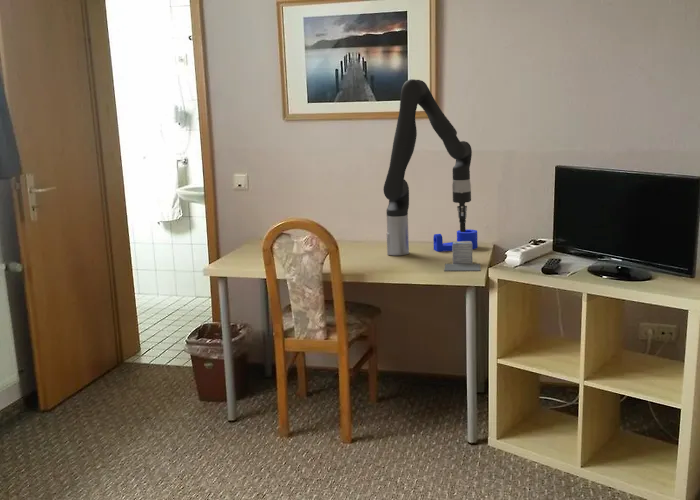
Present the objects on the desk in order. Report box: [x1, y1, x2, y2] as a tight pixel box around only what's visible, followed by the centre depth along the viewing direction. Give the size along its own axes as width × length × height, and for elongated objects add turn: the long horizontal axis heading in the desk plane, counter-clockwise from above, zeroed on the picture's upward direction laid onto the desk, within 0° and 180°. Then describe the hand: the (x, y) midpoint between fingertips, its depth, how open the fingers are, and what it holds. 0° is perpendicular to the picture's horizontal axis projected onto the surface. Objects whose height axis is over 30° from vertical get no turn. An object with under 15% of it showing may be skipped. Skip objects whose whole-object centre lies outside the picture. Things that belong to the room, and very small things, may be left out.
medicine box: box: [452, 241, 474, 264], centre depth 291 cm, size 8×4×9 cm, turn 84°
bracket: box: [433, 229, 478, 253], centre depth 319 cm, size 20×9×8 cm, turn 103°
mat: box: [443, 263, 482, 272], centre depth 284 cm, size 14×11×1 cm
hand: (462, 231), depth 298 cm, fingers closed
